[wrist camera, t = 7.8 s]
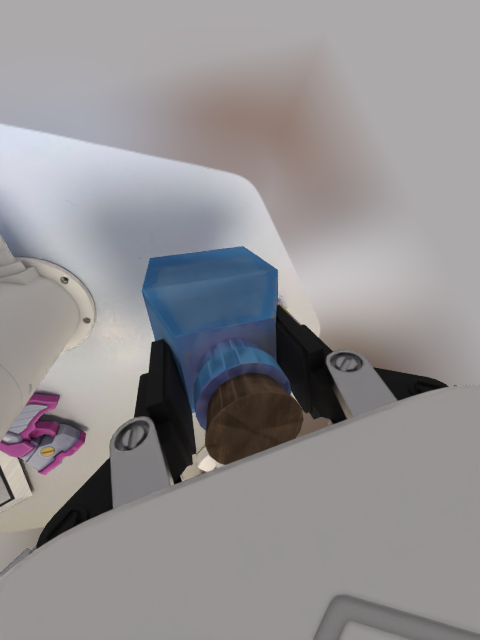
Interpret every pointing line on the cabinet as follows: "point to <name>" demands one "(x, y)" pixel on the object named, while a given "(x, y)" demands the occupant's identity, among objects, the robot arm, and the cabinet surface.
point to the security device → (12, 482)
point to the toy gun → (36, 448)
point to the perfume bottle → (225, 346)
